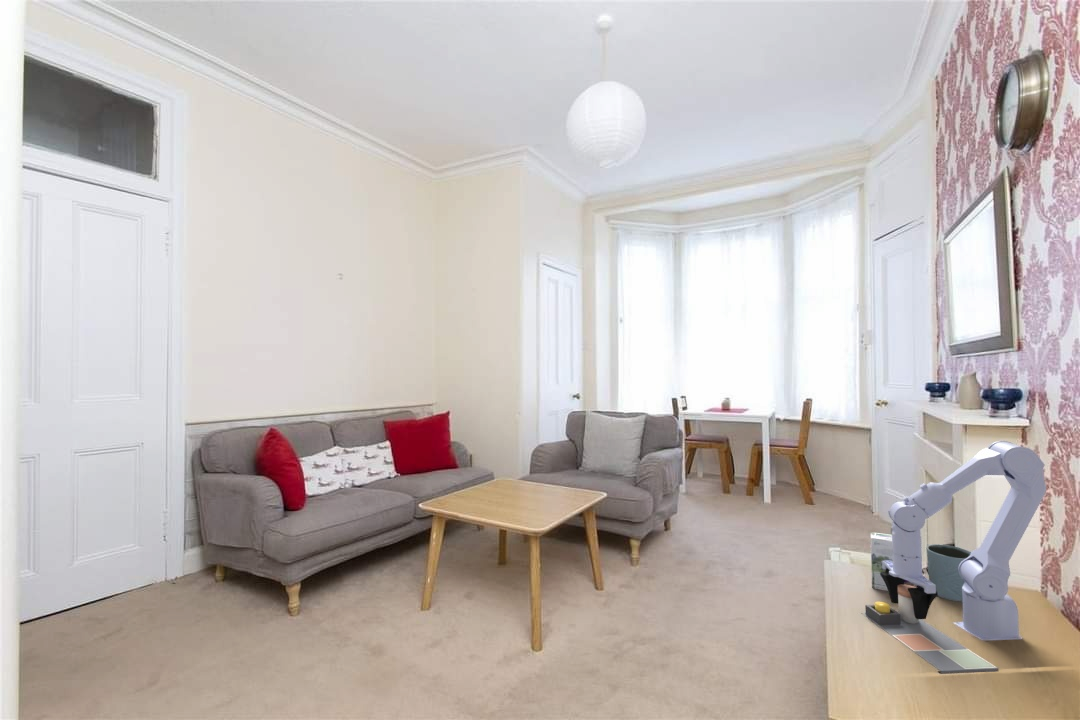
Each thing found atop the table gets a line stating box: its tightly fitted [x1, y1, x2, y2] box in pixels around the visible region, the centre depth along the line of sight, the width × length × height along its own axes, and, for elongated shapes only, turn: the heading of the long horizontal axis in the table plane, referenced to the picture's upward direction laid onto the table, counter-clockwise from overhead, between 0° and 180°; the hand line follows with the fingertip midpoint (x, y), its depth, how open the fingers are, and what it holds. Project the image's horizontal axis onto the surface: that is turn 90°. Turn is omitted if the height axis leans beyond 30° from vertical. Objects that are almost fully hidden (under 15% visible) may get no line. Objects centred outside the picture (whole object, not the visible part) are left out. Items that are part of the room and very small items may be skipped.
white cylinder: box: [897, 583, 919, 624], centre depth 123 cm, size 4×4×8 cm
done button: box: [874, 601, 891, 613], centre depth 123 cm, size 3×3×3 cm
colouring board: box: [860, 612, 999, 675], centre depth 115 cm, size 12×24×1 cm, turn 2°
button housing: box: [864, 604, 901, 625], centre depth 123 cm, size 5×5×2 cm
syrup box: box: [870, 531, 893, 591], centre depth 141 cm, size 6×6×14 cm
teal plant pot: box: [925, 543, 972, 603], centre depth 136 cm, size 10×10×12 cm
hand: (908, 610), depth 123 cm, fingers open, 7 cm apart
